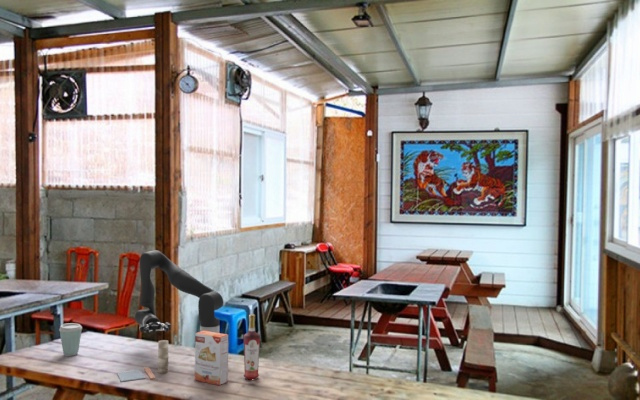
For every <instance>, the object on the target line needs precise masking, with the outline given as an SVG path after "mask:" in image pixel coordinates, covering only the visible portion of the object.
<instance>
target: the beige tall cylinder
mask: <svg viewBox="0 0 640 400" xmlns="http://www.w3.org/2000/svg"><path fill="white" fill-rule="evenodd" d="M157 345H158V347H157V349H158V351H157V352H158V353H157V355H158V357H157V373H158V374H166V373H168V372H169V340H167V339H161V340H160V339H159V340H158V344H157Z"/></svg>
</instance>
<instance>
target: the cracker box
mask: <svg viewBox="0 0 640 400" xmlns="http://www.w3.org/2000/svg"><path fill="white" fill-rule="evenodd" d="M194 336H195V340H194V342H195V347H194V381H199V382H202V383H203V382H204V383H207V384H212V385H215V384H216V385H215V386H221V384H222V385H224V384H226V383H228V381H229V334H227V333H220V332H219V333H215V332H210V331H201V332H200V331H198V332H195V334H194Z"/></svg>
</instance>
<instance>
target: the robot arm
mask: <svg viewBox="0 0 640 400" xmlns="http://www.w3.org/2000/svg"><path fill="white" fill-rule="evenodd" d="M156 268H157V269H159V270H161V271H163V272H164V273H165V274H166V275H167V276H166V277H167V279H168V282H169V284H170V285H172V286H173V287H175V288H176V289H177V290H179V291H180V292H183V293H184V294H188V295H192V296H194V297H197V298H199V299H198V302H197V303H198V304H197V305H198V306H197V307H198V311H197V312H198V321H199V323H200V326H199V327H200V328H199V329H200V331H199V332H201V331H210V332H215V333H220V318H218V317H216V316H215V315H216V313H215V311H217V310H219V309H221V308H222V307H223V306H224V298H223V296H222V295H221V293H219V292H218V291H216V290H214V289H212V288H210V287H209V286H207V285H205V284H204V283H202V282H201V281H200V280H198V279H197V278H195V277H194V276H192V275H191V274H190V273H188V272H187V271H185V270H184V269H183V268H181V267H180V266H178V265H177V264H175V262H173V261H172V260H170V258H168V257H167V256H166V255H165V254H164V253H162V251H160V250H157V249H155V250H150V251H145V252H143V253H141V255H140V257H139V271H140V274H139V276H140V284H141V285H140V287H141V288H140V297H139V298H140V299H139V305H140V306H141V307H143V308H147V309H139V310H137V311H136V312H135V313H134V320H135V322H136V323H137V324H138V325H139V332H140V333H146V334H150V333H151V334H152V333H156V332H157V331H160V332H162V331H164V332H165V333H168V332H169V331H170V330H171V325H172V324H171V323H170V322H168V321H166V322H165V323H162V322H161V320H160V319H159V318H158V317H157V316H156V315H157V314H156V310H155V294H156V291H155V287H154V284H153V281H152V279H151V273H152V272H151V271H152V269H156Z"/></svg>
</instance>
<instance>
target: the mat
mask: <svg viewBox="0 0 640 400" xmlns="http://www.w3.org/2000/svg"><path fill="white" fill-rule="evenodd" d="M116 374H117V377H118V379H119V381H120V383H125V382H131V381H137V380H145V379H146V377H145V376H144V374H143V372H142V369H135V370H129V371H128V370H127V371H121V372H117V373H116Z"/></svg>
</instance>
